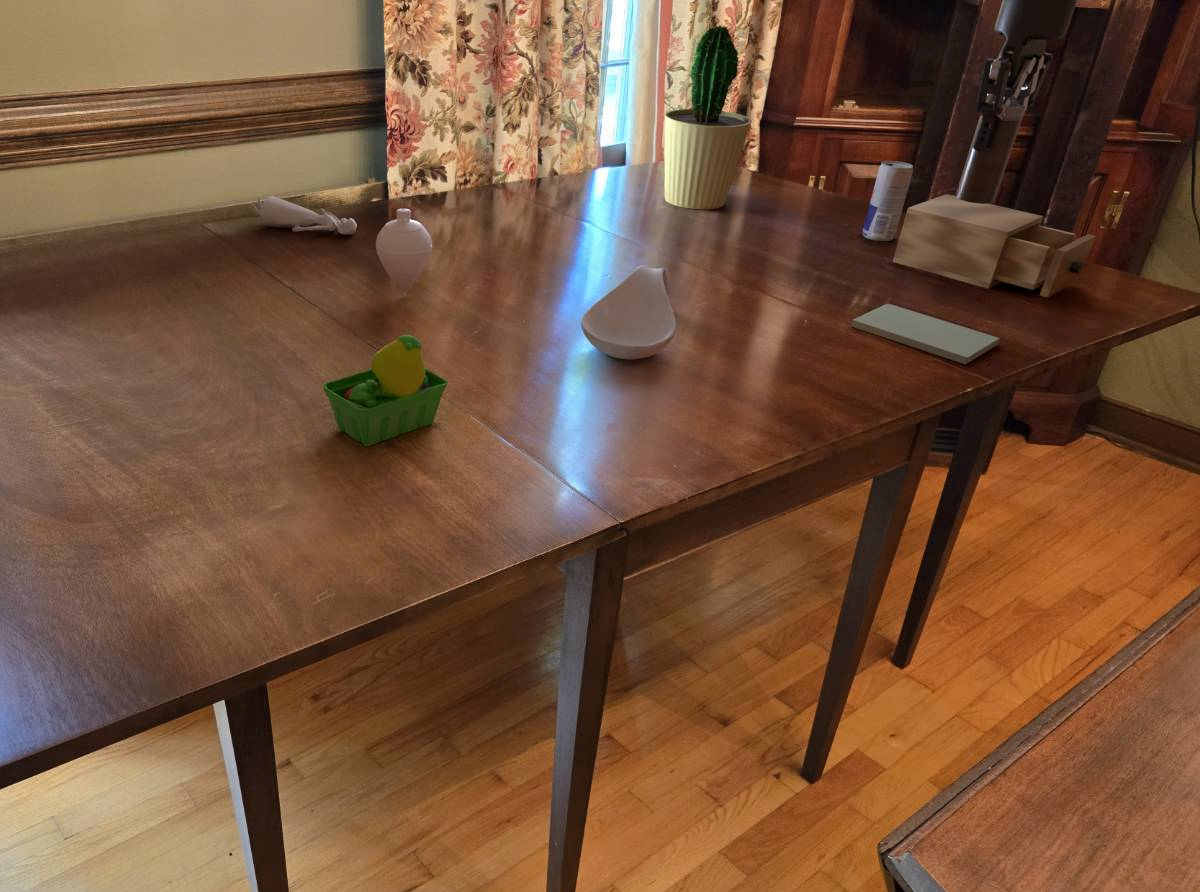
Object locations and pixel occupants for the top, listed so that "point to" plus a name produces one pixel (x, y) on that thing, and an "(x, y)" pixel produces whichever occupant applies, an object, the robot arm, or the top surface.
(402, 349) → the fruit basket
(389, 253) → the spinning top
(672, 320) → the spoon rest
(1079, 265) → the drawer
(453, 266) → the top surface
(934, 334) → the mat
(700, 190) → the potted cactus
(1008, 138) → the glass of dark soda
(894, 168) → the energy drink
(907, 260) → the cabinet
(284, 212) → the woman figurine
